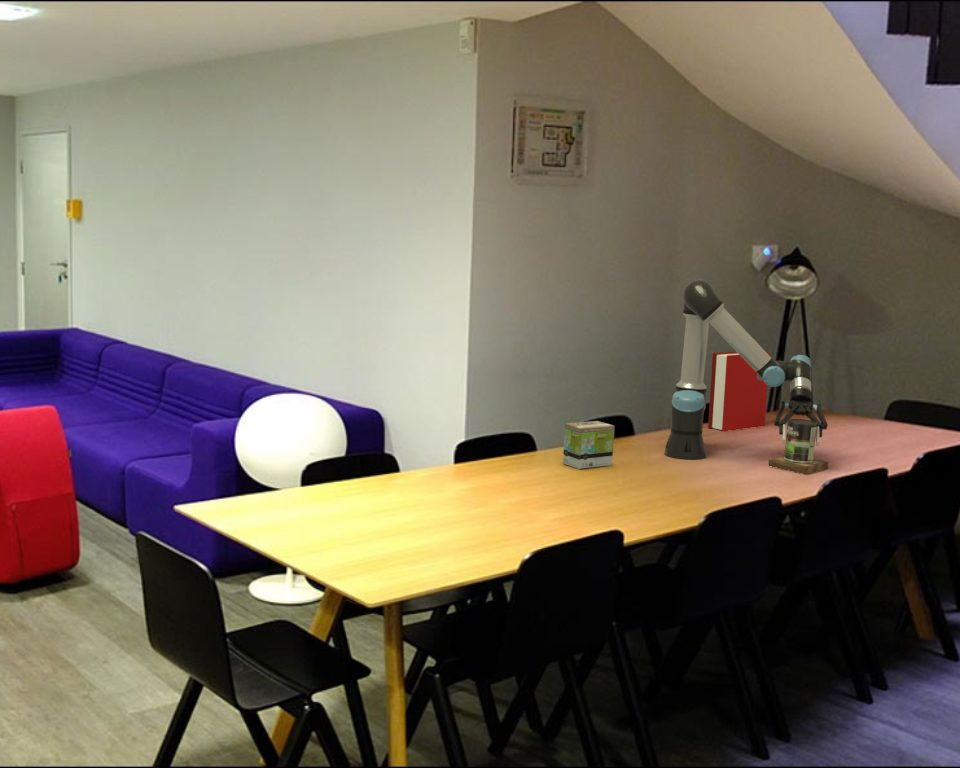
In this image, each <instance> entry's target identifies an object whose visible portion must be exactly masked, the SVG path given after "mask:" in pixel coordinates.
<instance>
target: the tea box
mask: <svg viewBox="0 0 960 768" xmlns="http://www.w3.org/2000/svg"><path fill="white" fill-rule="evenodd" d="M564 425H565V427H564V439H563V455H562V464H563V465H565V466H566V465H567V466H569V467H572V468H575V469H577V470H582V469H587V468H598V467H611V466H612V465H613V458H614V457H613V455H614V444H615V443H614V442H615V440H614V439H615V425H613V424H610V423H606V422H603V421H602V422H601V421H599V420H594V421H583V422H571V423H569V422H568V423H565V424H564ZM610 465H611V466H610Z"/></svg>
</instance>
